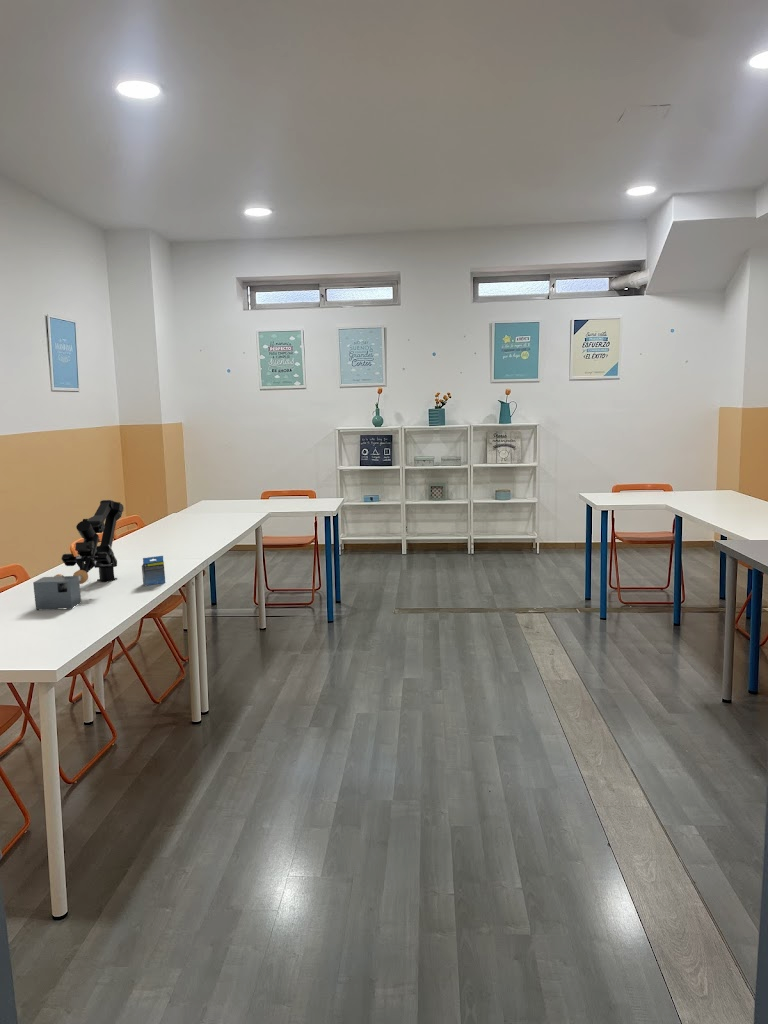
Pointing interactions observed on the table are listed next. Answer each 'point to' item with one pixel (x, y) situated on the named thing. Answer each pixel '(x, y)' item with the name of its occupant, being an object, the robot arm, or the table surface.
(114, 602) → the table surface
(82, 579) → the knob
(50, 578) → the mount
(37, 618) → the table surface
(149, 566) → the label tape cartridge
